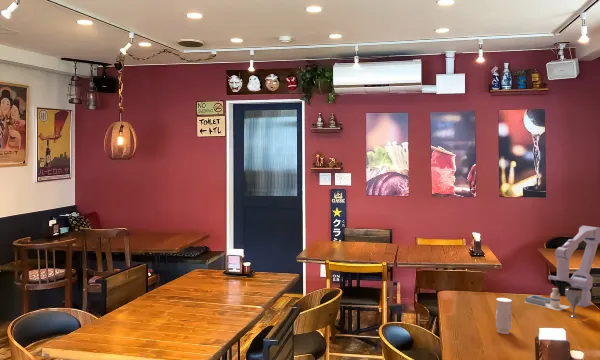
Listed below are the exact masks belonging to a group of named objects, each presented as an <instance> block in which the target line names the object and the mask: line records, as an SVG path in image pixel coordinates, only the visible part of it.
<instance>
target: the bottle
mask: <svg viewBox="0 0 600 360" xmlns="http://www.w3.org/2000/svg"><path fill="white" fill-rule="evenodd" d="M551 289H552V292H551V293H550V297H549V298H550V306H551V307H555V308H559V307H560V305H561V295H560V293H559V289H558V287H556V288H554V287H553V288H551Z"/></svg>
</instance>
